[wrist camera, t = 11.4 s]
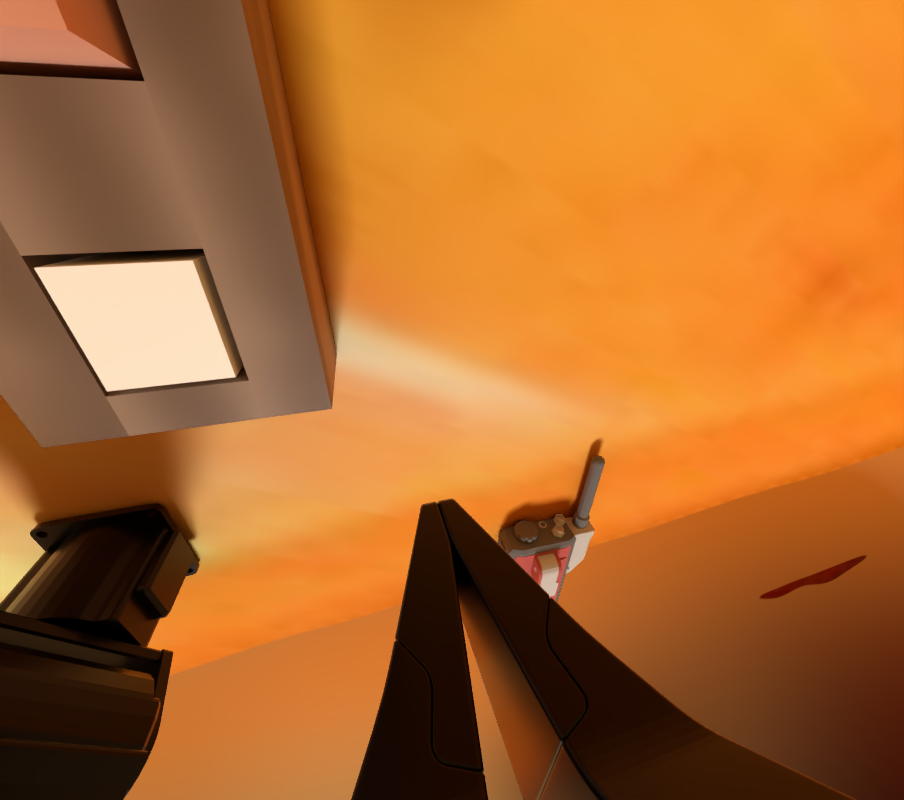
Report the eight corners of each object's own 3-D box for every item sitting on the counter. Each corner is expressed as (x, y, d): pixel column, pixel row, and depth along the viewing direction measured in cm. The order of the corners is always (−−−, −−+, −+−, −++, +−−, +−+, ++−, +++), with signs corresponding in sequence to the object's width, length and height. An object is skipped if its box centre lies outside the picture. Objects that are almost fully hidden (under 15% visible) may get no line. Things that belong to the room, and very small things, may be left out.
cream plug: (178, 335, 17) (107, 391, 12) (139, 245, 15) (33, 267, 10) (267, 327, 17) (235, 377, 13) (242, 241, 15) (192, 260, 11)
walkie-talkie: (559, 586, 39) (601, 445, 29) (581, 626, 36) (636, 480, 26) (486, 604, 37) (504, 460, 27) (501, 648, 34) (528, 500, 24)
